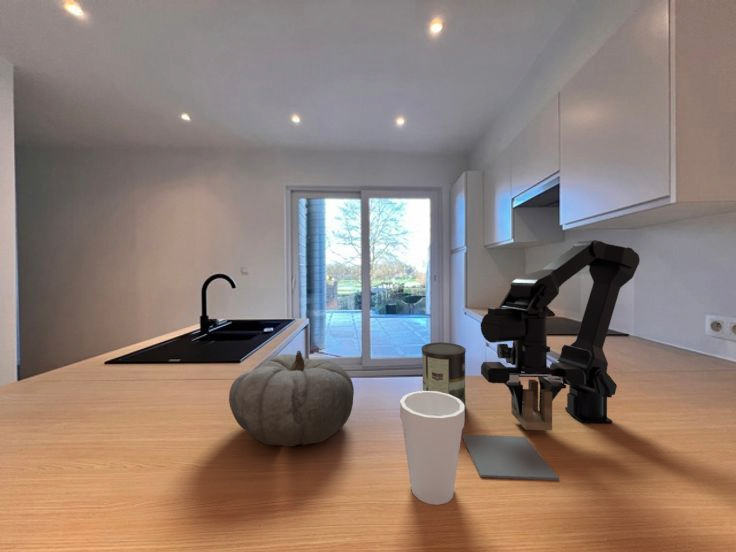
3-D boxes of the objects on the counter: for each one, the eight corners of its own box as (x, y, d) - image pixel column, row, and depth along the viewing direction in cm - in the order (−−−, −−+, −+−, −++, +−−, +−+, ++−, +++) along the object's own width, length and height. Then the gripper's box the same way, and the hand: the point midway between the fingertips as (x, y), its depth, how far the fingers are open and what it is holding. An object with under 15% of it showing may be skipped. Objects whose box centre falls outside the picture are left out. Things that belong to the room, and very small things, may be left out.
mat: (524, 438, 60) (524, 436, 60) (558, 480, 48) (558, 477, 48) (462, 436, 60) (462, 434, 60) (480, 477, 48) (480, 474, 48)
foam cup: (396, 470, 50) (395, 391, 50) (450, 466, 51) (450, 389, 51) (408, 516, 41) (408, 419, 41) (475, 511, 42) (475, 416, 41)
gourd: (208, 467, 47) (224, 352, 50) (233, 420, 71) (243, 343, 74) (365, 459, 53) (370, 356, 56) (340, 418, 77) (345, 347, 80)
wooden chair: (511, 413, 67) (511, 379, 67) (535, 413, 67) (535, 379, 67) (525, 429, 60) (525, 391, 60) (552, 430, 60) (552, 392, 60)
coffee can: (460, 395, 79) (460, 341, 78) (470, 416, 69) (470, 354, 68) (420, 395, 80) (419, 341, 79) (424, 415, 70) (423, 354, 69)
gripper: (556, 331, 71) (556, 398, 71) (473, 330, 72) (473, 396, 72) (587, 342, 59) (587, 422, 60) (489, 341, 61) (489, 419, 61)
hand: (530, 413), depth 63 cm, fingers closed on wooden chair, 4 cm apart
